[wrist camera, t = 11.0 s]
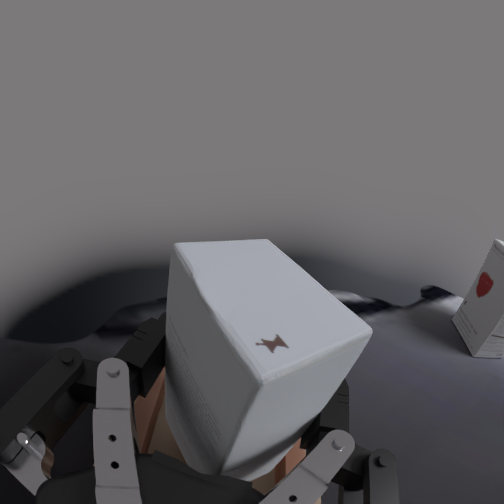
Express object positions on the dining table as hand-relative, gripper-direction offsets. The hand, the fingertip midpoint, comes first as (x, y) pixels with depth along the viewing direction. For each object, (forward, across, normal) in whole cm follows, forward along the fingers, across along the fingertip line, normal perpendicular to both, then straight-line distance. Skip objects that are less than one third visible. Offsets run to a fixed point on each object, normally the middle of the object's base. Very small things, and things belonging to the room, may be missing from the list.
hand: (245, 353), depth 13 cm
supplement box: (+21, -34, +9) cm, 42 cm away
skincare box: (-2, 0, +7) cm, 7 cm away
